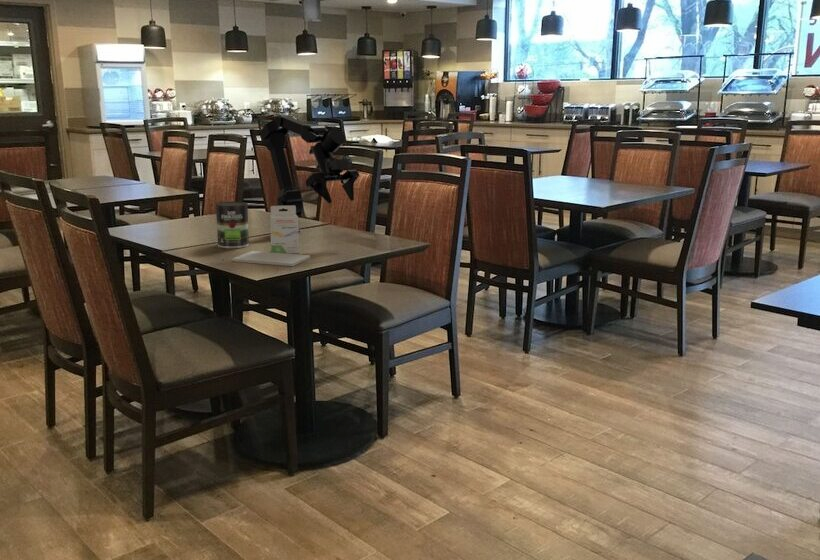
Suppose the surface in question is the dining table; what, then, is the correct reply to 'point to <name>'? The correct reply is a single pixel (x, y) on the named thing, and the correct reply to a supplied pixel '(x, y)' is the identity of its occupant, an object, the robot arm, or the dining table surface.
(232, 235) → the coffee can
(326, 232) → the dining table surface
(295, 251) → the ink box
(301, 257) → the mat
